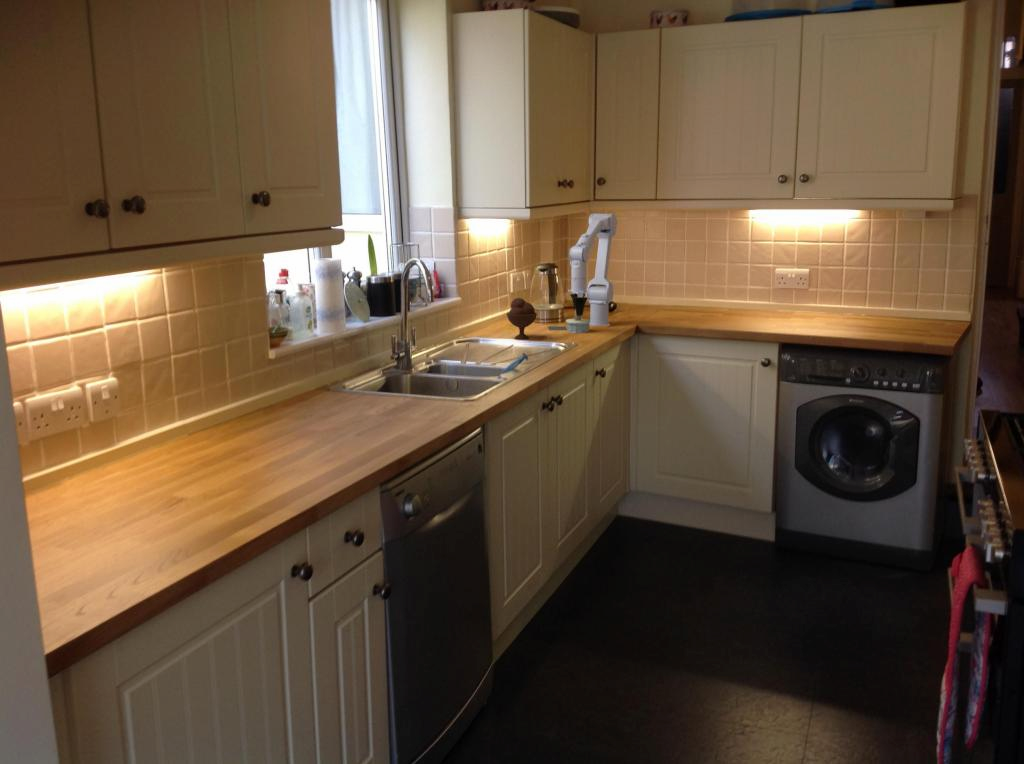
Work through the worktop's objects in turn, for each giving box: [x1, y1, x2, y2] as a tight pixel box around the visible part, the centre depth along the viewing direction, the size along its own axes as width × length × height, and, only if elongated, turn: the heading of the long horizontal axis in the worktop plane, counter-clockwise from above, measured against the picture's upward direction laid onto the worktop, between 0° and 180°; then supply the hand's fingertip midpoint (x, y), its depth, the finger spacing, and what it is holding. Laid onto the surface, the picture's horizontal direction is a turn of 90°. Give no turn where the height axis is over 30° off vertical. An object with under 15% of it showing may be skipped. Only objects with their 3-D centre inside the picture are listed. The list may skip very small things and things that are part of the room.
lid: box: [565, 310, 590, 324], centre depth 367 cm, size 9×9×5 cm
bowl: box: [567, 323, 590, 334], centre depth 368 cm, size 8×8×4 cm
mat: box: [547, 325, 568, 331], centre depth 376 cm, size 9×7×1 cm
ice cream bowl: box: [506, 297, 538, 341], centre depth 355 cm, size 11×11×15 cm
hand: (578, 314), depth 367 cm, fingers open, 7 cm apart
